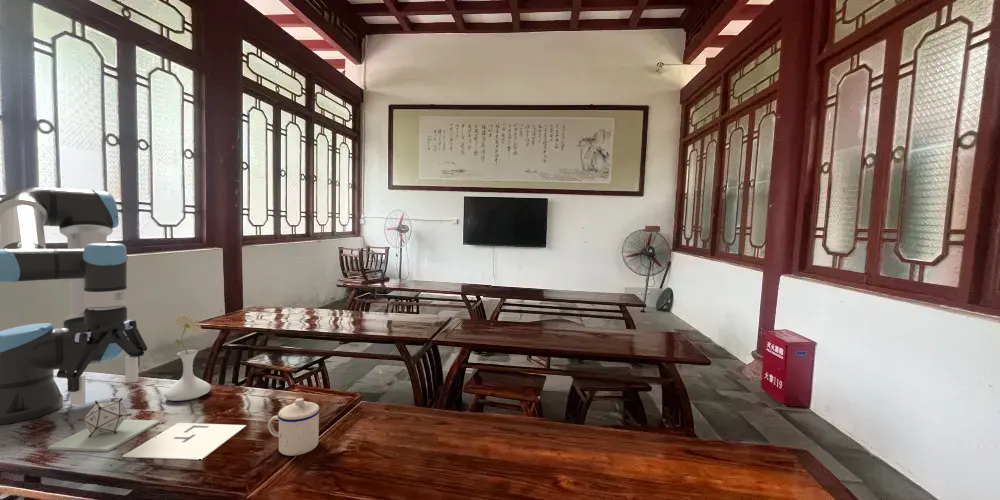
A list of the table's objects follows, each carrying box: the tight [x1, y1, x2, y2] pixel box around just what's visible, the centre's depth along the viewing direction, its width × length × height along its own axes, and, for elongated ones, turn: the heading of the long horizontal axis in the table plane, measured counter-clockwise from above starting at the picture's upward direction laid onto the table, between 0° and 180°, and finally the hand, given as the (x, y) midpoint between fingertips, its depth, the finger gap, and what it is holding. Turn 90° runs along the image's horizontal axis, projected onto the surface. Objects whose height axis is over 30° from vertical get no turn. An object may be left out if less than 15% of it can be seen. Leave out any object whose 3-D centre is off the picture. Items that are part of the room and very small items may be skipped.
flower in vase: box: [163, 314, 212, 402], centre depth 124 cm, size 13×11×25 cm
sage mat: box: [47, 418, 161, 453], centre depth 100 cm, size 14×14×1 cm
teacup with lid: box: [267, 397, 321, 457], centre depth 98 cm, size 12×9×12 cm
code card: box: [121, 422, 247, 461], centre depth 99 cm, size 18×16×1 cm
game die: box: [77, 397, 133, 437], centre depth 100 cm, size 9×8×10 cm
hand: (106, 391), depth 100 cm, fingers open, 13 cm apart
